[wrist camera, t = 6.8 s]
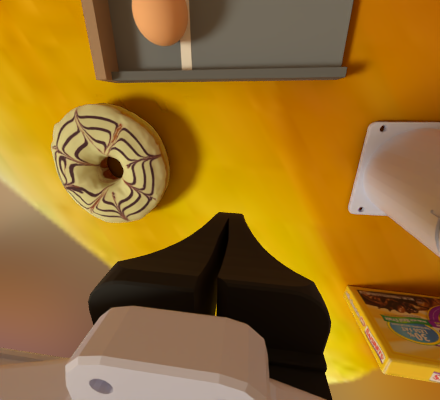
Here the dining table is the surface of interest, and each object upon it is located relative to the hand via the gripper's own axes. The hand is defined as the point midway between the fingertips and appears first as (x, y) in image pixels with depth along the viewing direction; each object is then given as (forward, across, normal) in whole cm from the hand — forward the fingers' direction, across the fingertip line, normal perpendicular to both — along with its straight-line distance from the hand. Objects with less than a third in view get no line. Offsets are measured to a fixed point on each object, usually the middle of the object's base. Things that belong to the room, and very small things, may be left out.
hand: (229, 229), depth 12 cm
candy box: (+10, -20, +13) cm, 26 cm away
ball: (+8, +6, -12) cm, 15 cm away
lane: (+10, +2, -12) cm, 16 cm away
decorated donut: (+10, +12, -1) cm, 15 cm away
